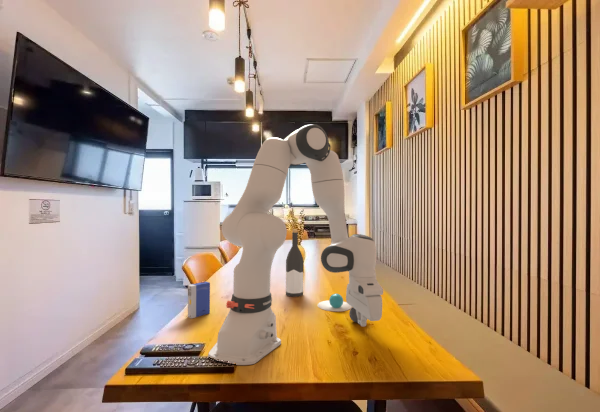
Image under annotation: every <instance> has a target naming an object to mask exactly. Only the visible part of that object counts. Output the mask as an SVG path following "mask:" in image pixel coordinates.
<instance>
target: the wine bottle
mask: <svg viewBox="0 0 600 412" xmlns="http://www.w3.org/2000/svg"><path fill="white" fill-rule="evenodd" d="M298 236H299V233H298V229H297V228H296V229H295V228H293V229H292V240H291V242H292V243H291V247H290V249H289V251H288V254H287V256H286V260H285V294H286V296H287V297H292V298H296V297H297V298H298V297H302V296H303V295H304V264H305V263H304V257H303V254H302V251H301V250H300V247H299V245H298V243H299V242H298V240H299V239H298V238H299V237H298Z"/></svg>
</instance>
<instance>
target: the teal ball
mask: <svg viewBox="0 0 600 412" xmlns="http://www.w3.org/2000/svg"><path fill="white" fill-rule="evenodd" d="M343 301H344V298H343V296H342V295H341V294H339V293H334V294H331V296H329V303H330V305H331V306H332V307H334V308H339V307H341V306H342V304H343Z"/></svg>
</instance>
